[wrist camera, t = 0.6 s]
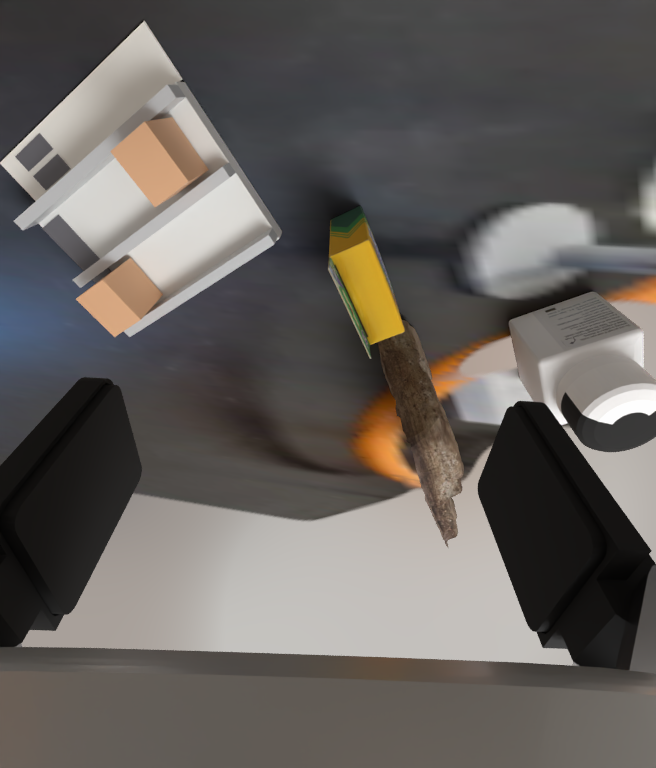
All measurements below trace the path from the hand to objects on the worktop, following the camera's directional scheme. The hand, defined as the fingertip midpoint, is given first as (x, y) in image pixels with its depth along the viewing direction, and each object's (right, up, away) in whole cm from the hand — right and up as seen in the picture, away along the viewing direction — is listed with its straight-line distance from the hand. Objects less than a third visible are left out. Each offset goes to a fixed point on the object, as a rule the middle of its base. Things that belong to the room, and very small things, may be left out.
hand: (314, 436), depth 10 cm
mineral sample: (+9, +2, +33) cm, 35 cm away
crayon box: (+3, +13, +26) cm, 29 cm away
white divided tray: (-15, +16, +23) cm, 32 cm away
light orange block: (-16, +10, +25) cm, 32 cm away
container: (+22, +6, +30) cm, 38 cm away
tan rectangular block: (-11, +18, +20) cm, 29 cm away
